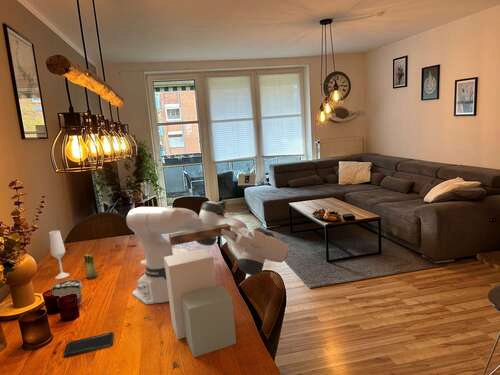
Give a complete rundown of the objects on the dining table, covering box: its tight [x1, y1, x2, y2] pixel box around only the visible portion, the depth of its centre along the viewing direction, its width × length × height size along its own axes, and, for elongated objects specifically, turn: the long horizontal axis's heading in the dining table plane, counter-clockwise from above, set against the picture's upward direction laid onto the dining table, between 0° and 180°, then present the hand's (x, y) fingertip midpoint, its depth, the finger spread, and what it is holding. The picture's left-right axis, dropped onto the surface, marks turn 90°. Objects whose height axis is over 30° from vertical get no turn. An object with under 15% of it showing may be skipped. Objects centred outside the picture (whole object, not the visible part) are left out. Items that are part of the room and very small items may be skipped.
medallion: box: [140, 247, 190, 265], centre depth 195 cm, size 24×27×2 cm
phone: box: [63, 331, 115, 358], centre depth 118 cm, size 8×1×15 cm
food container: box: [50, 279, 83, 308], centre depth 148 cm, size 12×6×10 cm, turn 92°
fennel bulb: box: [83, 254, 98, 279], centre depth 176 cm, size 6×5×12 cm
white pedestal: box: [164, 248, 217, 340], centre depth 122 cm, size 15×10×26 cm, turn 113°
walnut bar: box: [168, 224, 231, 247], centre depth 121 cm, size 21×4×3 cm, turn 113°
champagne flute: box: [48, 230, 70, 280], centre depth 179 cm, size 7×7×24 cm
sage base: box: [181, 285, 237, 358], centre depth 113 cm, size 14×10×16 cm
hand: (218, 229), depth 123 cm, fingers closed on walnut bar, 3 cm apart
